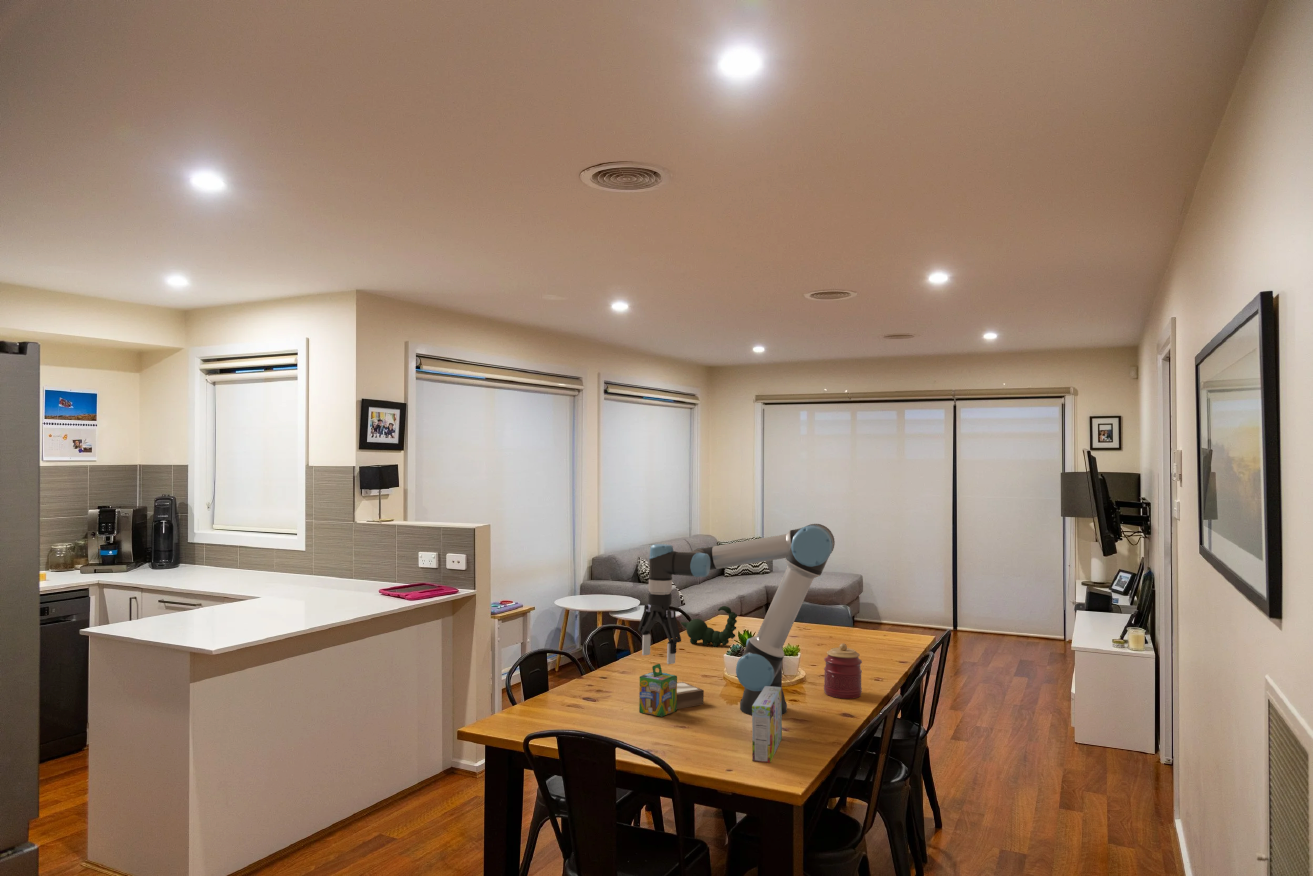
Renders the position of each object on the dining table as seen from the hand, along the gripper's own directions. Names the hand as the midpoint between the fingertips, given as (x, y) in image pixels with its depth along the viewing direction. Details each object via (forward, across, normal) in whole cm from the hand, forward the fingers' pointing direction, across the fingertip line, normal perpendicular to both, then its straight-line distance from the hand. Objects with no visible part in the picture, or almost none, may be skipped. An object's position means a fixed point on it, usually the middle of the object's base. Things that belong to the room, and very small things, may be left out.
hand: (658, 659), depth 264 cm
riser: (+17, +5, -12) cm, 21 cm away
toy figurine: (+17, +68, -77) cm, 104 cm away
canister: (+16, -18, -67) cm, 72 cm away
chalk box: (+17, 0, 0) cm, 17 cm away
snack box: (+17, -45, -5) cm, 49 cm away
